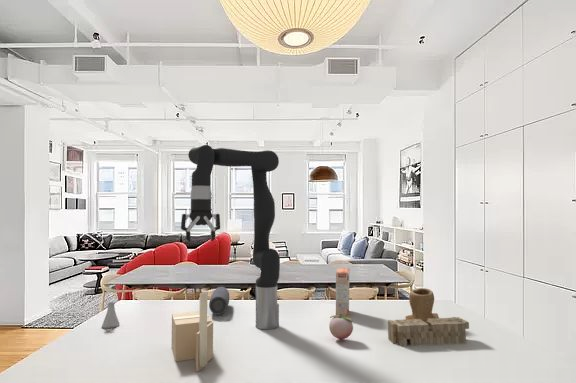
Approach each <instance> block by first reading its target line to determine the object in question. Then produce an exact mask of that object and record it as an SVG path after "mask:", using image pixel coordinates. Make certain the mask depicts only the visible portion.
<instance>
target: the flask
mask: <svg viewBox="0 0 576 383" xmlns="http://www.w3.org/2000/svg"><path fill="white" fill-rule="evenodd" d="M115 304H116V301H108V302H106V305H107V311H106V315H105V317H104V319H103V322H102V324H101V328H102V329H103V328H105V329H111V328H117V327H119V326H120V324H121V323H120V321H119V318H118V316H117V313H116V308H115Z"/></svg>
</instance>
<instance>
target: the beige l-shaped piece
mask: <svg viewBox="0 0 576 383" xmlns="http://www.w3.org/2000/svg"><path fill="white" fill-rule="evenodd" d="M199 311H200V312H199V332H198V333H196V359H195V372H196V373H197V372H200V371H201V369H203V368H204V367H206V366H207V365H208V362H210V361H211V359H212V358H214V322H213V321H212V322H211V323H209V324H208V325H207V314H208V292H200V293H199Z"/></svg>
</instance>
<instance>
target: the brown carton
mask: <svg viewBox="0 0 576 383" xmlns="http://www.w3.org/2000/svg"><path fill="white" fill-rule="evenodd" d="M199 312H200V310H198V311H190V312H181V313H179V312H177V313H171V350H172V354H173V358H174V361H175V362H182V361H187V360H196V333H198V332H199ZM211 322H213V320H212V319H211V318H210V315H209V314H208V313H207V325H208V324H209V323H211Z"/></svg>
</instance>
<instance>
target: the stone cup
mask: <svg viewBox="0 0 576 383" xmlns="http://www.w3.org/2000/svg"><path fill="white" fill-rule="evenodd" d="M408 299H409V305H410V308H411V314H410V315H406V316H405V317H404V318H405V320H412V319H421V320H422V321H424V322H425V323H427V319H429V318H430V319H432V318H440V317H439V313H437V312H435V313H433V307H434V303H435V296H434V292H433V291H432V290H431V289H429V288H426V287H425V288H424V287H422V288H421V287H419V288H415V289H412V290H410V292H409V297H408Z"/></svg>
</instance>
